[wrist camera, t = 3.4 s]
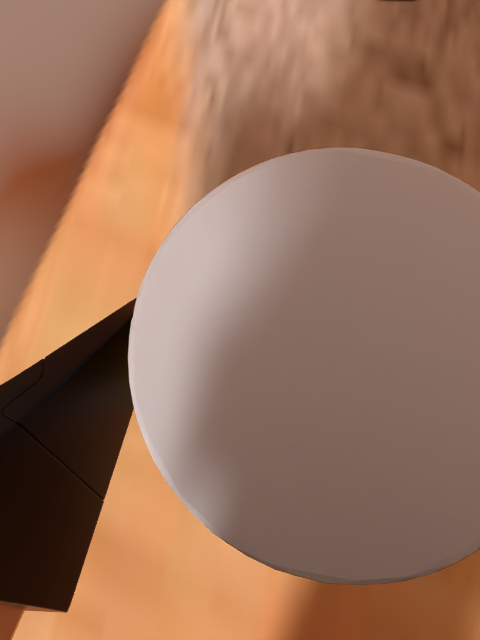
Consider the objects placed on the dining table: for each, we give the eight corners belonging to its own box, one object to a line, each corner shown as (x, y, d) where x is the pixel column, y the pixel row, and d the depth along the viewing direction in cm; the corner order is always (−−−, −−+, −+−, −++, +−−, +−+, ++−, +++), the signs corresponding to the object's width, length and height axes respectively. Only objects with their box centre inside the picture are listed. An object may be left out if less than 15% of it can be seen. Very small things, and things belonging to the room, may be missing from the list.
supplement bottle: (263, 265, 16) (279, -42, 3) (357, 333, 15) (846, 277, 3) (193, 356, 16) (-75, 402, 3) (286, 429, 15) (432, 883, 2)
